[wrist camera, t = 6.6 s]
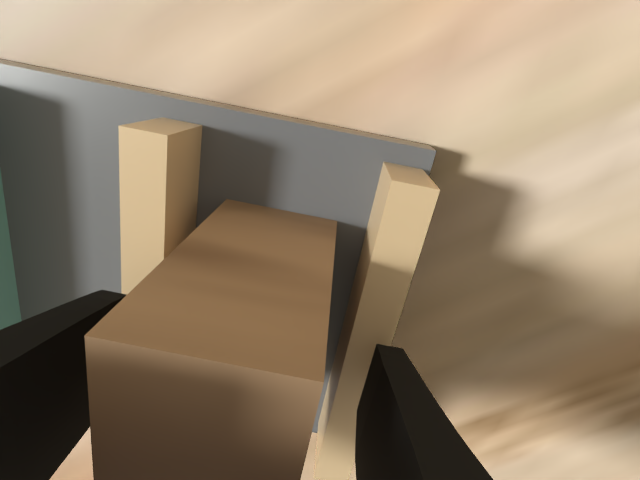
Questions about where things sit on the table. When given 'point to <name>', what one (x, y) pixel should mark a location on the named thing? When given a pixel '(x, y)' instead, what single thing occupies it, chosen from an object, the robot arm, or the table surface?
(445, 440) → the robot arm
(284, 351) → the walnut plug
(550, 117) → the table surface
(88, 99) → the slot comb
